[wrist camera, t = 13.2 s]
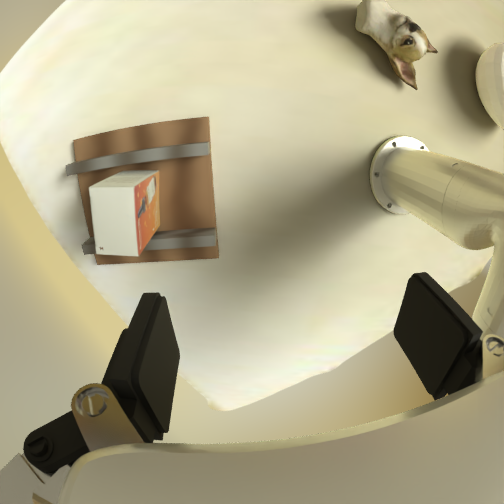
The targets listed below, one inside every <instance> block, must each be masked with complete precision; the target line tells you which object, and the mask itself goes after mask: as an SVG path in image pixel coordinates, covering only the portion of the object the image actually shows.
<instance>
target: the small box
mask: <svg viewBox="0 0 504 504" xmlns="http://www.w3.org/2000/svg"><path fill="white" fill-rule="evenodd" d="M89 194H90V203H91V213H92V222H93V230H94V238H95V248H96V254H103V255H120V256H139V255H140V254H141V252H142V251H143V249H144V248H145V246H146V245H147V244H148V242H149V241H150V239H151V238H152V236H153V235H154V233H155V232H156V230H157V229H158V228H159V226H160V208H159V171H158V170H130V171H122V172H119V173H117V174H115V175H113V176H111V177H108V178H106V179H104V180H102V181H100V182H98V183H96V184H94V185H92V186H90V187H89Z"/></svg>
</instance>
